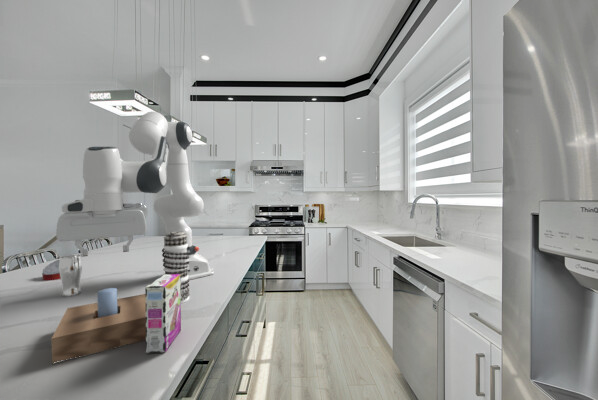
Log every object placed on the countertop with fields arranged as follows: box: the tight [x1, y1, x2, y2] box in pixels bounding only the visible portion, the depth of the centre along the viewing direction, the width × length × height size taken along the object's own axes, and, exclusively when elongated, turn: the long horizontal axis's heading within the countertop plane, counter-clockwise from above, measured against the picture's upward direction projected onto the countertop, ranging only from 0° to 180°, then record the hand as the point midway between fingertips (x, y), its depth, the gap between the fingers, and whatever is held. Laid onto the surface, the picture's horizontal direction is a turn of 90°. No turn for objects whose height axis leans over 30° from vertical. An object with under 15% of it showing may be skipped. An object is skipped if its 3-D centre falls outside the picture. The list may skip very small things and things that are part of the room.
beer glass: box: [58, 253, 83, 298], centre depth 107 cm, size 7×7×15 cm
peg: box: [96, 287, 118, 318], centre depth 76 cm, size 4×4×12 cm
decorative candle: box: [161, 231, 190, 304], centre depth 99 cm, size 9×9×25 cm
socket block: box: [51, 293, 146, 363], centre depth 76 cm, size 20×20×6 cm
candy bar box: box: [144, 274, 182, 354], centre depth 71 cm, size 11×5×16 cm, turn 5°
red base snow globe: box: [41, 259, 61, 282], centre depth 129 cm, size 11×10×10 cm
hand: (106, 253), depth 75 cm, fingers open, 8 cm apart
